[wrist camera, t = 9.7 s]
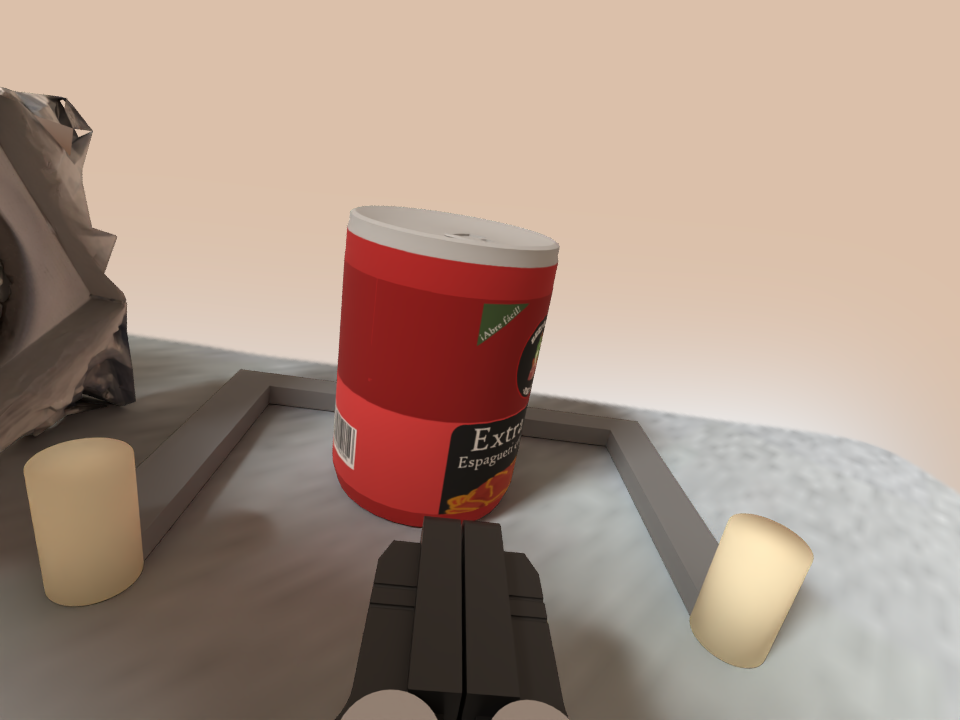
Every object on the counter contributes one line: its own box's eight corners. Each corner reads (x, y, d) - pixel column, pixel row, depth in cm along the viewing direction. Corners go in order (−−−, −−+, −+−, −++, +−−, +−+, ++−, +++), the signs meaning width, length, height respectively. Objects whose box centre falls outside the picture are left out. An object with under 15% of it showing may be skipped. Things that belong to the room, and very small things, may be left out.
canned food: (474, 561, 19) (534, 258, 15) (289, 489, 21) (299, 206, 17) (528, 463, 26) (578, 237, 22) (385, 415, 28) (407, 203, 24)
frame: (22, 602, 14) (-3, 480, 13) (237, 385, 28) (236, 315, 27) (781, 671, 16) (831, 571, 15) (636, 437, 30) (655, 373, 29)
